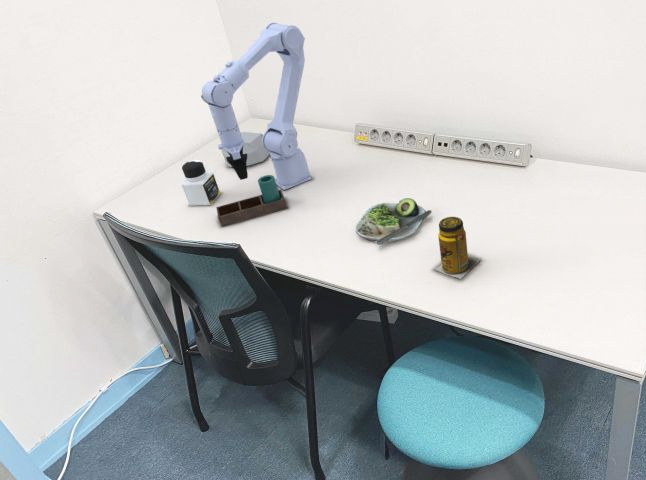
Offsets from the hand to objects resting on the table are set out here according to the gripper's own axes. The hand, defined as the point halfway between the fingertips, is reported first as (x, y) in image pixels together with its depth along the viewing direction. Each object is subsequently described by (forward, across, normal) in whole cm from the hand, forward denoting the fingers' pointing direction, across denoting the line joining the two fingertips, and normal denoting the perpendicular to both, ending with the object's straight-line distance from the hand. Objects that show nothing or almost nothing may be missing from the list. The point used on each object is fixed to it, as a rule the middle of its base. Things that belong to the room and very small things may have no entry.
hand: (242, 173), depth 171 cm
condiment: (+10, +58, +40) cm, 72 cm away
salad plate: (+10, +34, +33) cm, 48 cm away
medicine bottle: (+10, -10, -13) cm, 19 cm away
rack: (+9, +6, 0) cm, 11 cm away
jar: (+9, +6, +6) cm, 12 cm away
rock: (+10, -31, +5) cm, 33 cm away
